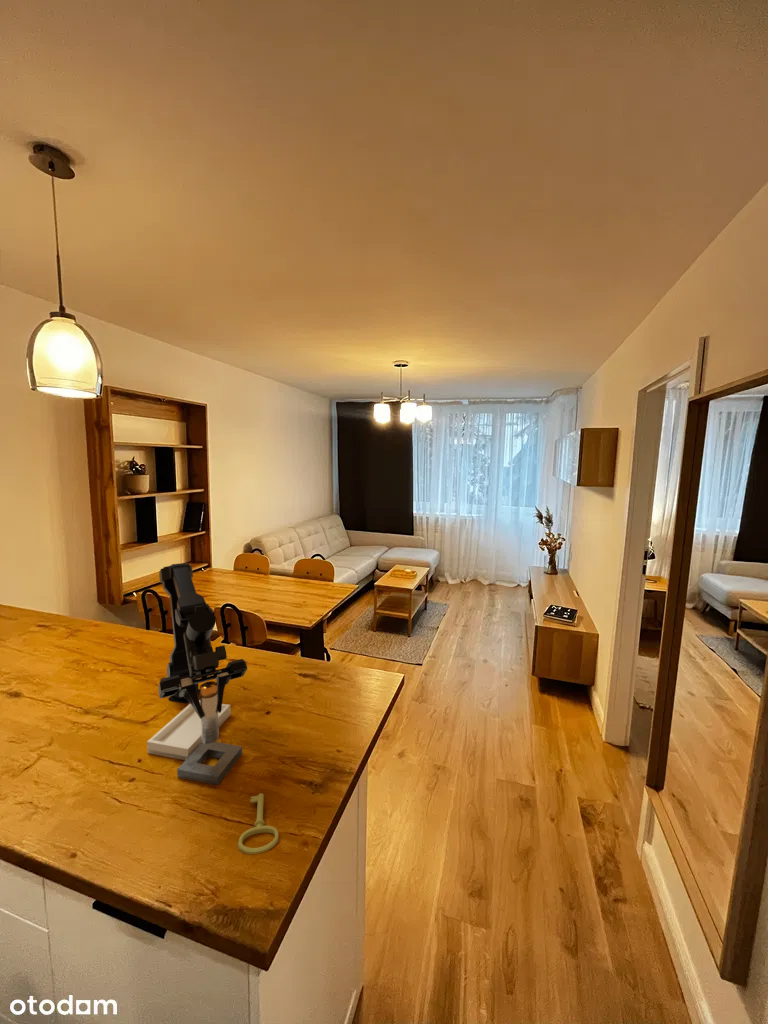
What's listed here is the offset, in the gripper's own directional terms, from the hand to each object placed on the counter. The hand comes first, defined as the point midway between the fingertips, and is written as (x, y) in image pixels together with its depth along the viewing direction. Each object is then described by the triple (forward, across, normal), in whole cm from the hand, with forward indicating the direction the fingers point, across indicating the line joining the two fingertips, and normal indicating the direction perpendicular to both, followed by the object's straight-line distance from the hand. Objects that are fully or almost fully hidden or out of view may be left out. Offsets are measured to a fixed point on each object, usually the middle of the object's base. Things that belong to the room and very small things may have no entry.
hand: (210, 715), depth 95 cm
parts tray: (-2, -2, +21) cm, 21 cm away
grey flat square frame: (+8, 0, +10) cm, 13 cm away
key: (+24, +4, -5) cm, 25 cm away
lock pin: (+4, 0, +6) cm, 7 cm away
